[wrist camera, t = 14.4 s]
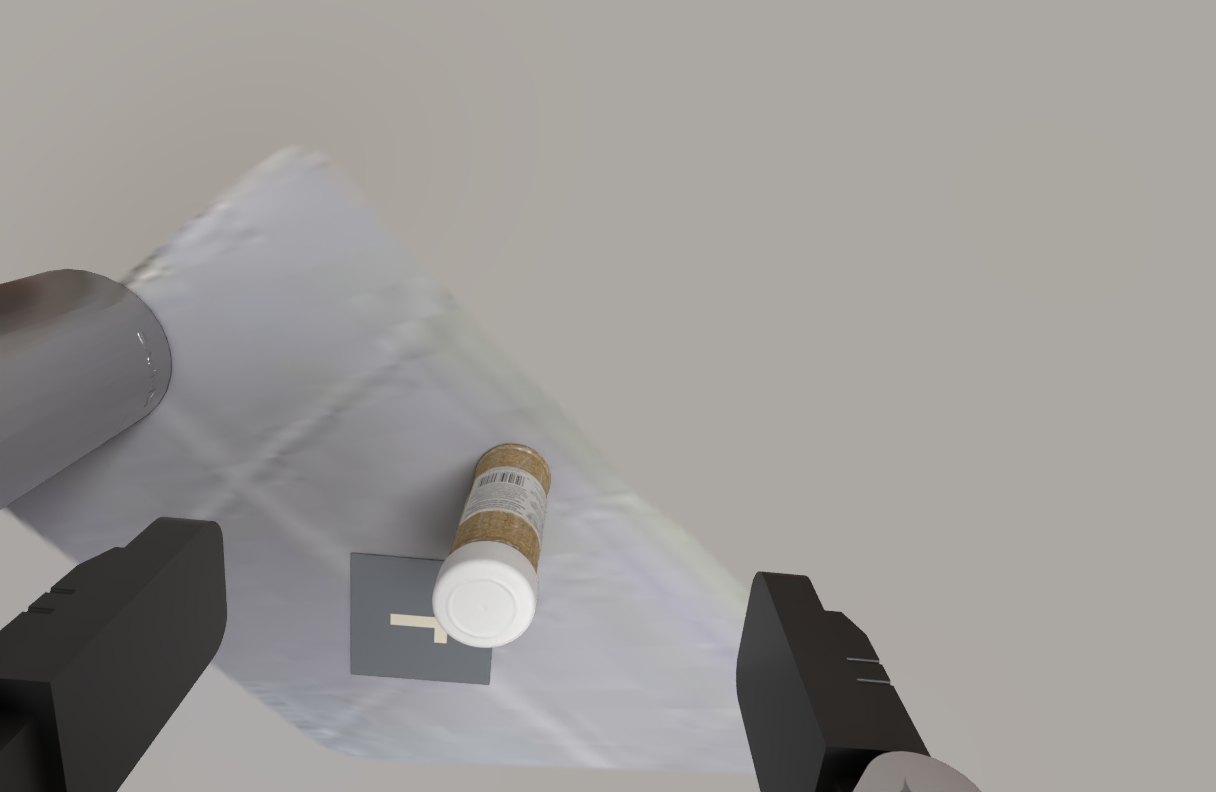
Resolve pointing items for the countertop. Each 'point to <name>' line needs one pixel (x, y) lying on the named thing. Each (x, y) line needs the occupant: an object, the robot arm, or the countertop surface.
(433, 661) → the letter card
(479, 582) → the sprinkles bottle
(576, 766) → the countertop surface
